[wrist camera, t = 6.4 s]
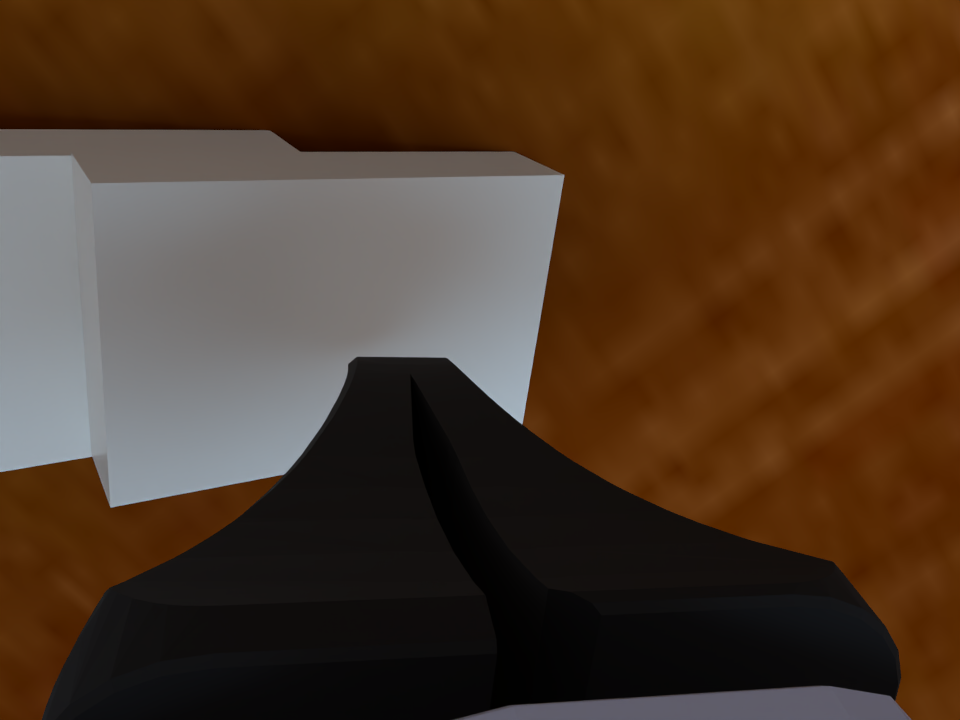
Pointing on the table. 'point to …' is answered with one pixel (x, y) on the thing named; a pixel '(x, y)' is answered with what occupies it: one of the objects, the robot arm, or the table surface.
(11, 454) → the domino
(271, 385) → the domino
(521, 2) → the table surface
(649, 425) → the table surface
